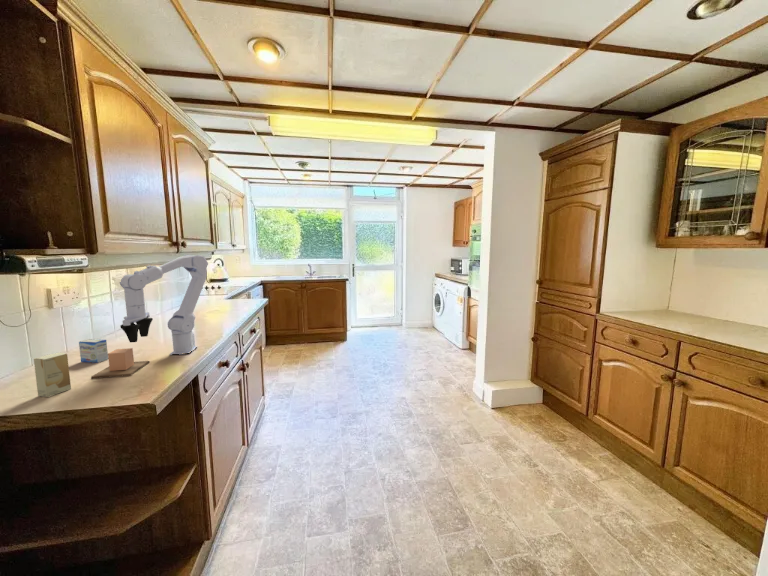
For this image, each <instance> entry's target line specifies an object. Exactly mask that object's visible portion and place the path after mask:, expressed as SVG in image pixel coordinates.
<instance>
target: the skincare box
mask: <svg viewBox="0 0 768 576" xmlns="http://www.w3.org/2000/svg"><path fill="white" fill-rule="evenodd" d="M33 364H34V373H35V381H36V391H37V396H38V397H45V398H48V397H49V396H50V397H52V396H54V395H57V394H60V393H63V392H66V391H69V390H71V389H72V385H71V377H70V375H71V374H70V367H69V357H68V353H65V352H54V353H51V354H46V355H41V356H39V357H34V358H33ZM50 397H49V398H50Z"/></svg>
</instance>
